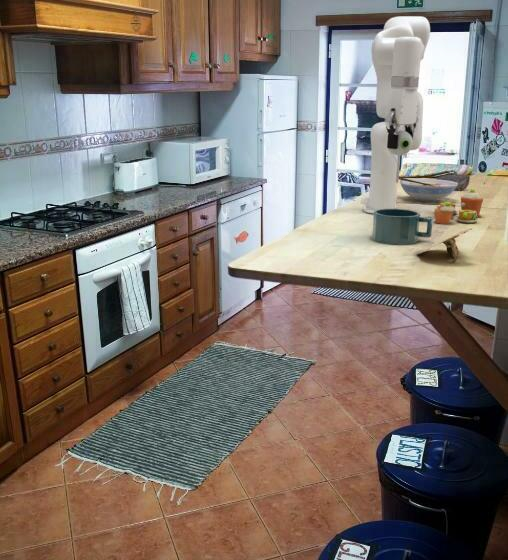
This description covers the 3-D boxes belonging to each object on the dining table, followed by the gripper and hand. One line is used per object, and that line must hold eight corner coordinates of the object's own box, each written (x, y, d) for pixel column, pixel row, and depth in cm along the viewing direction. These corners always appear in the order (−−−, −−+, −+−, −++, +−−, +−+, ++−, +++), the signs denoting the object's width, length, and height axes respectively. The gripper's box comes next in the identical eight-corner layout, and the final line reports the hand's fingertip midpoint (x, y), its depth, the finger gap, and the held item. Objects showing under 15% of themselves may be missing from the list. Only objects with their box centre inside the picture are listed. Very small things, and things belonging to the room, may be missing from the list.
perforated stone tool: (433, 189, 287) (434, 173, 285) (434, 187, 291) (435, 172, 289) (468, 191, 282) (470, 175, 280) (468, 190, 286) (470, 174, 284)
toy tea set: (437, 211, 233) (439, 184, 231) (482, 214, 228) (485, 187, 225) (428, 223, 210) (430, 194, 207) (477, 227, 205) (480, 198, 202)
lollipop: (391, 184, 183) (395, 131, 179) (380, 181, 190) (384, 129, 185) (413, 184, 185) (418, 131, 180) (402, 180, 191) (406, 129, 187)
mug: (370, 242, 182) (372, 215, 180) (373, 233, 194) (375, 207, 192) (431, 246, 178) (433, 218, 176) (430, 237, 190) (432, 210, 188)
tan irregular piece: (415, 274, 174) (407, 247, 175) (466, 261, 174) (458, 234, 175) (431, 267, 156) (423, 237, 157) (488, 253, 156) (480, 223, 157)
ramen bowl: (470, 204, 249) (472, 183, 247) (421, 207, 241) (423, 185, 239) (431, 194, 271) (432, 175, 269) (385, 197, 263) (386, 177, 261)
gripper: (409, 83, 187) (404, 145, 193) (376, 83, 175) (371, 148, 181) (432, 84, 182) (426, 146, 188) (399, 83, 170) (394, 150, 176)
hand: (399, 147), depth 184 cm, fingers closed on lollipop, 7 cm apart
